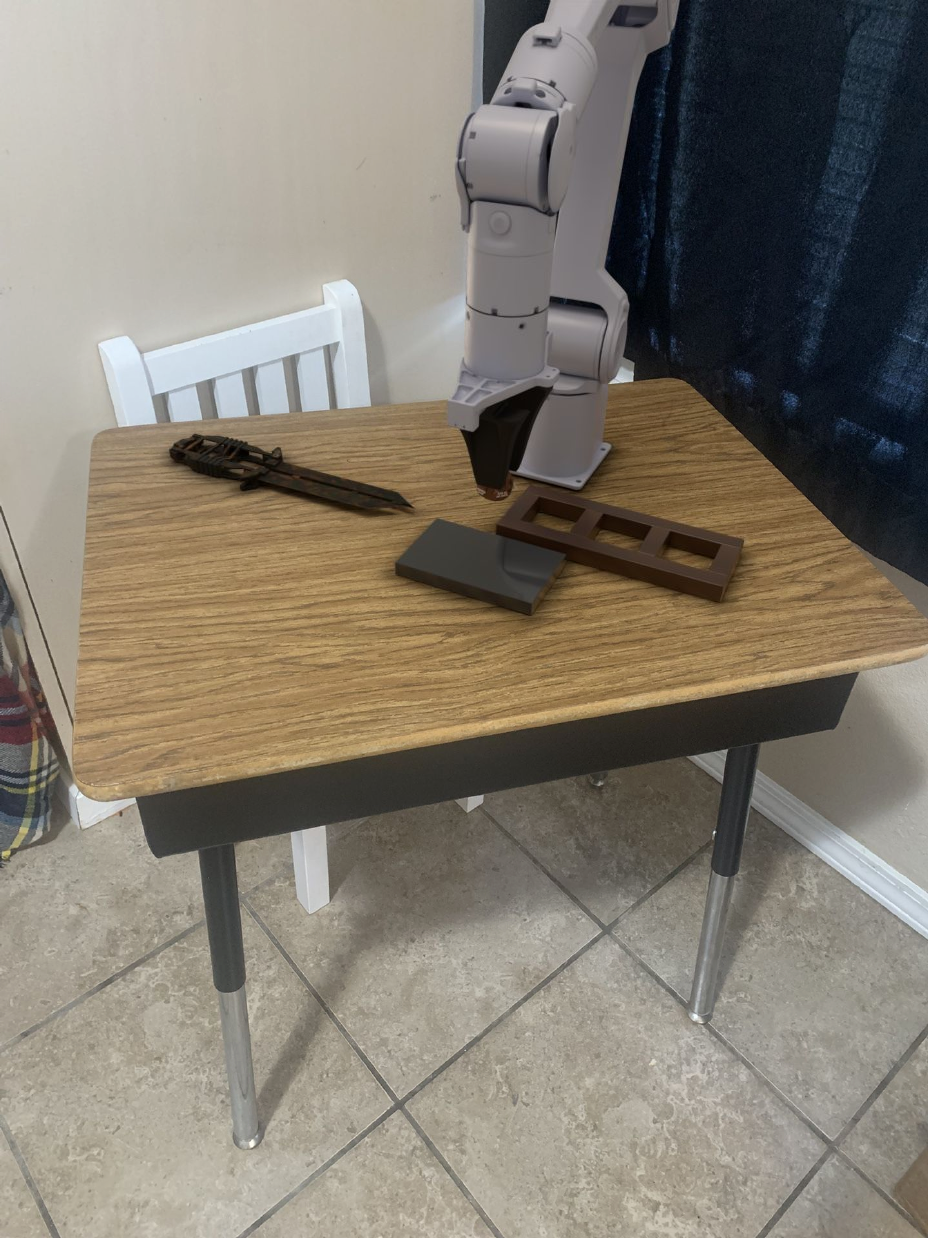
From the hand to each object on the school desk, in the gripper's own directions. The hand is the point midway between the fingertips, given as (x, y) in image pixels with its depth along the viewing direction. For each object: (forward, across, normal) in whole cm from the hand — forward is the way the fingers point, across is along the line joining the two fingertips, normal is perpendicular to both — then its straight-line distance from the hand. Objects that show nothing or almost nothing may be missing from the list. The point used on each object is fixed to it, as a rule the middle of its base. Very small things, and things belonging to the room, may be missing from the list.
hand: (497, 476), depth 75 cm
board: (+9, 0, +1) cm, 9 cm away
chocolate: (+2, 0, 0) cm, 2 cm away
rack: (+9, +8, -8) cm, 14 cm away
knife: (+9, +5, +22) cm, 24 cm away
